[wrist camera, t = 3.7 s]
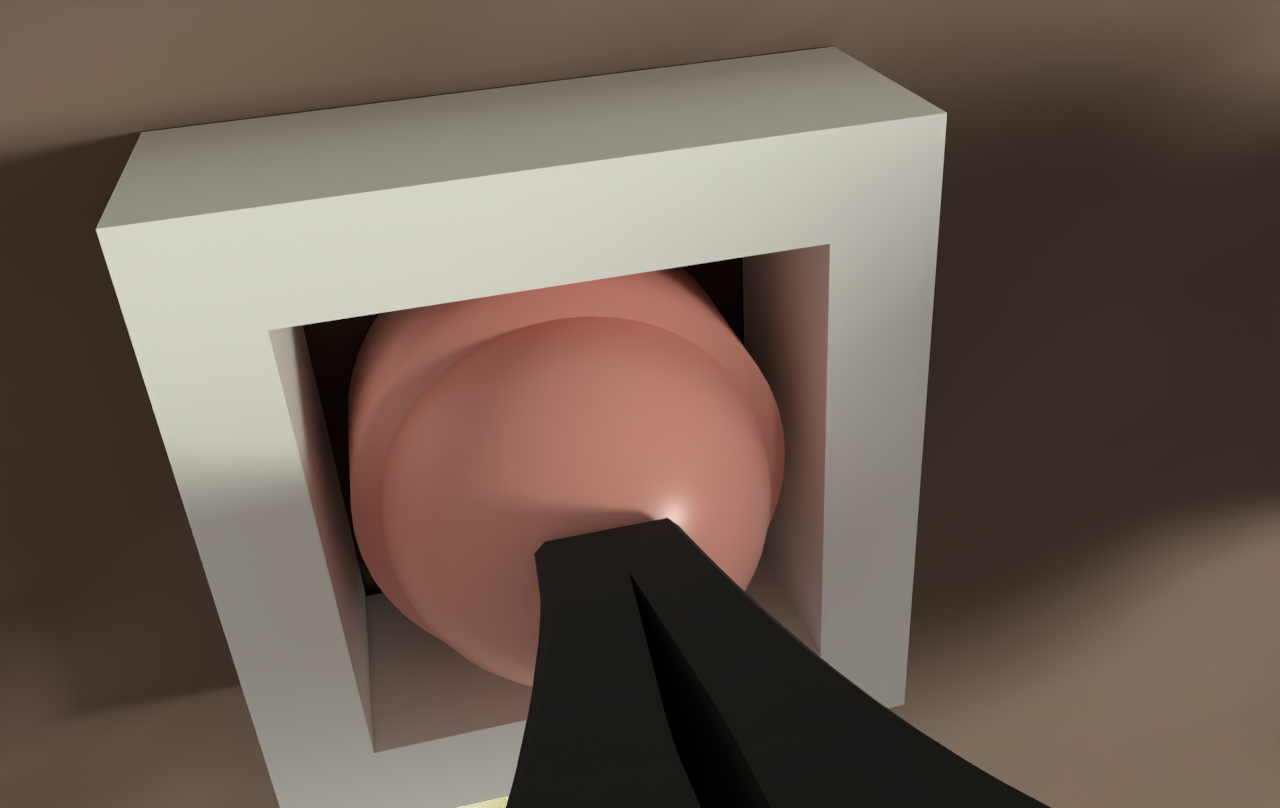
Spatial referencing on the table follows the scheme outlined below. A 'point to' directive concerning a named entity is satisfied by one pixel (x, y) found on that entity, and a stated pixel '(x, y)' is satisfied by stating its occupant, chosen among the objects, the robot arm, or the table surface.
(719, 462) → the dome
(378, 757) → the dome housing
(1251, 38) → the table surface
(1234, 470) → the table surface
